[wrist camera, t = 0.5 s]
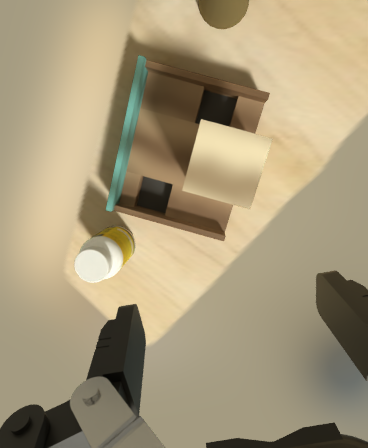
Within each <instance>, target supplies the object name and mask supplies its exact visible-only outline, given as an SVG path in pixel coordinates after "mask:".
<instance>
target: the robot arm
mask: <svg viewBox="0 0 368 448" xmlns="http://www.w3.org/2000/svg"><path fill="white" fill-rule="evenodd" d="M316 305H317V309H318V312H319V314H320V316H321V317H322V319H323V321H324V322H325V323H326V325H327V326H328V328H329V329H330V330H331V332H332V333H333V335H334V336H335V337H336V339H337V340H338V342H339V343H340V344H341V346H342V347H343V348H344V350H345V351H346V353H347V354H348V356H349V357H350V358H351V360H352V361H353V363H354V364H355V366H356V367H357V368H358V370H359V371H360V373H361V374H362V375H363V377H364V378H365V380H366V381H368V290H367V289H366V288H365V287H364V286H363V285H361V284H359V283H357V282H355V281H353V280H348V281H347V280H346V279H345V278H344V277H343V276H342V275H340V274H339V272H337V271H330V272H324V273H318V274H317V277H316ZM145 346H146V339H145V332H144V328H143V324H142V321H141V317H140V314H139V310H138V307H137V305H136V304H132V305H126V306H121V307H119V308H118V312H117V316H116V319H114V320H108V322H107V323H106V324H105V325H104V327H103V328H102V329H101V333H100V335H99V339H98V342H97V346H96V350H95V352H94V356H93V359H92V363H91V366H90V369H89V372H88V376H87V379H86V381H84V382H83V383H82V384H80V385H79V386H78V387H77V388H76V390H75V391H74V392H73V394H72V396H71V399H70V400H69V401H67V402H65V403H63V404H61V405H59V406H57V407H55V408H52V409H50V410H48V411H46V412H44V410H43V408H42V407H41V406H39V405H28V406H25V407H23V408H21V409H19V410H17V411H16V412H14V413H13V414H12V415H11V416H10V417H9V418H8V419H7V420H6V421H5V422H4V424H3V425H2V427H1V428H0V448H165V447H164V445H163V444H162V443H161V441H160V440H159V439H158V437H156V435H155V434H154V432H153V431H152V430H151V428H150V427H149V426H148V425H147V423H146V422H145V421H144V419H143V418H142V417H141V416H139V410H140V409H139V408H140V398H141V388H142V377H143V368H144V356H145ZM206 447H207V448H368V442H366V441H364V440H362V439H359V438H356V437H353V436H348V435H343V434H340V432H339V430H338V428H337V426H336V424H335V423H329V424H323V425H316V426H310V427H304V428H302V429H299V430H297V431H295V432H293V433H291V434H289V435H287V436H285V437H283V438H281V439H279V440H277V441H274V442H265V441H258V440H249V439H240V438H235V439H229V440H223V441H216V442H210V443H206Z"/></svg>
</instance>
